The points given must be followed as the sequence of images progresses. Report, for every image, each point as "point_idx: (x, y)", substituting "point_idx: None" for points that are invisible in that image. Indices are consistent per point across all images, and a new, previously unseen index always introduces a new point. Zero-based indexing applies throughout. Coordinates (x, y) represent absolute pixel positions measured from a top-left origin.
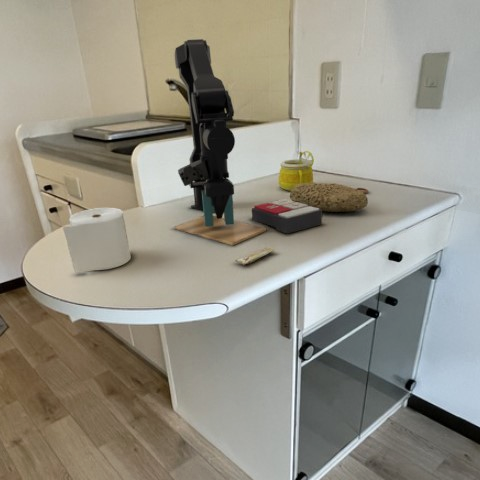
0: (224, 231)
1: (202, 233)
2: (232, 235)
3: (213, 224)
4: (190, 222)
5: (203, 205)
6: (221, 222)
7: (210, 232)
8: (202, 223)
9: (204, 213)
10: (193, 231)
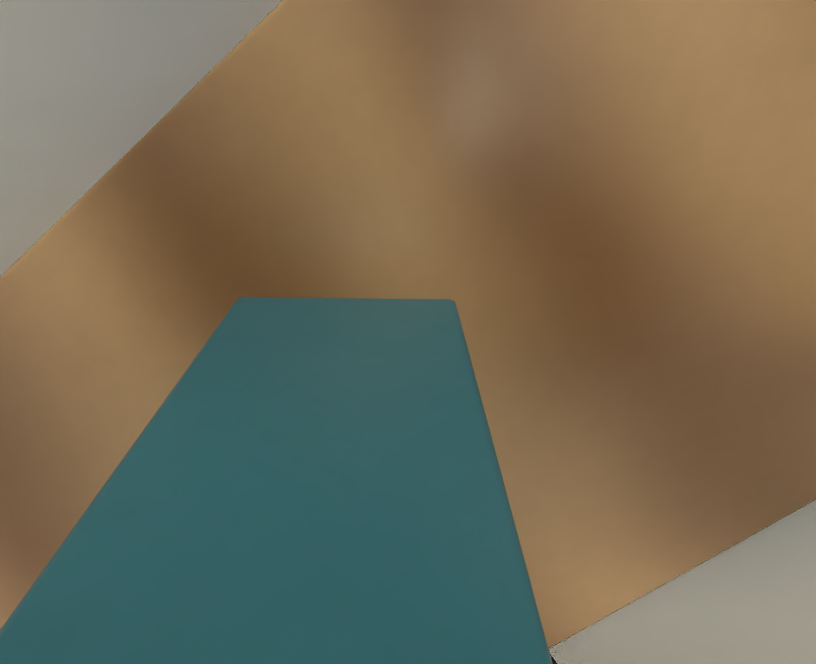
0: None
1: (118, 211)
2: (6, 573)
3: (517, 405)
4: (798, 33)
5: (35, 597)
6: (564, 507)
7: (155, 334)
8: (637, 251)
9: (147, 427)
10: (253, 57)
